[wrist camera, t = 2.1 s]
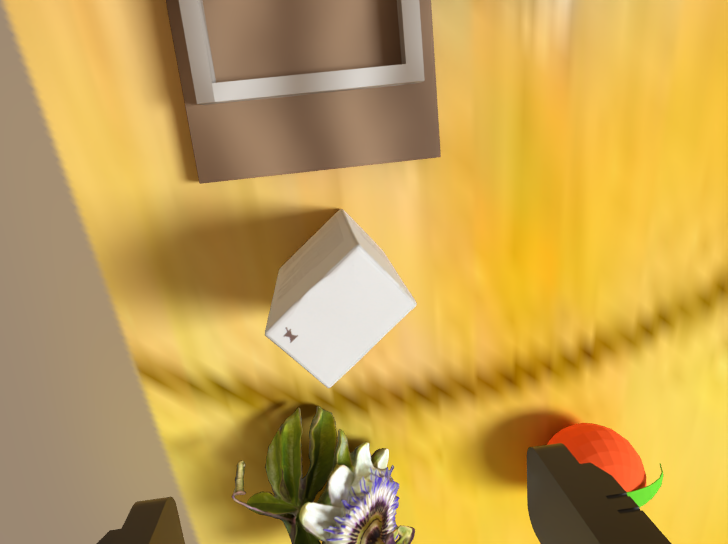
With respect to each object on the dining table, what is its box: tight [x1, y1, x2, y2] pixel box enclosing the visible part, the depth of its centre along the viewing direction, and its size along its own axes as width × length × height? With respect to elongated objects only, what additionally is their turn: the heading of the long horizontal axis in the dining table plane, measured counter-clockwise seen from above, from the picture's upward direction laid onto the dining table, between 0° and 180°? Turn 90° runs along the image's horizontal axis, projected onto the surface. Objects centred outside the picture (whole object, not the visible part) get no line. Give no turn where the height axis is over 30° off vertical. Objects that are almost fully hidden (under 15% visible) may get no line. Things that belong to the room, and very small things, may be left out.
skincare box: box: [265, 209, 417, 388], centre depth 29 cm, size 6×4×12 cm
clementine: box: [547, 423, 663, 507], centre depth 37 cm, size 8×7×7 cm
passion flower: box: [232, 406, 415, 544], centre depth 36 cm, size 11×11×12 cm
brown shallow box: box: [166, 0, 441, 184], centre depth 30 cm, size 15×18×3 cm
